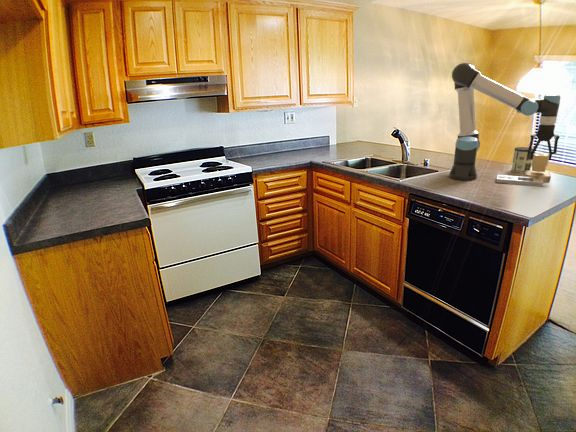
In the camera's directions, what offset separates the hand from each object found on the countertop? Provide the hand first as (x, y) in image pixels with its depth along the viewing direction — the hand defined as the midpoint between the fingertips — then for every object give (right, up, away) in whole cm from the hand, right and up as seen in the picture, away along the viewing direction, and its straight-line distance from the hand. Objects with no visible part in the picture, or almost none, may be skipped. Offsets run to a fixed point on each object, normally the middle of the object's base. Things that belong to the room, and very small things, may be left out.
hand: (539, 165), depth 214 cm
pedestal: (0, -7, +3) cm, 8 cm away
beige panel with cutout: (-14, -10, -3) cm, 17 cm away
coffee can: (+2, -1, +20) cm, 20 cm away
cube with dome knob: (0, -3, +1) cm, 3 cm away
